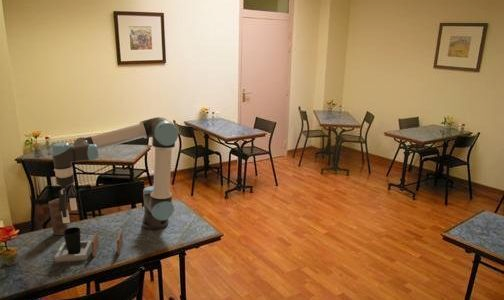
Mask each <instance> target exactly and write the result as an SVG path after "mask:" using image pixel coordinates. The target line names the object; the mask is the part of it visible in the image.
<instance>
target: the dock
mask: <svg viewBox="0 0 504 300" xmlns="http://www.w3.org/2000/svg"><path fill="white" fill-rule="evenodd" d="M91 242H92V240H80V247H81V251H80V253H79V254H70V255H69V254H68V250H67V246H66V242H65V241H63V242H62V243H61V245H60V247H59V249H58V250H57V252H56V254H55V256H54V263H55V264H57V263H68V262H69V263H70V262H71V263H72V262H81V261H82V262H83V261H87V259H88V256H89V254H90V252H91V251H92V245H91Z"/></svg>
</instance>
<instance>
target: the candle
mask: <svg viewBox="0 0 504 300" xmlns="http://www.w3.org/2000/svg"><path fill="white" fill-rule="evenodd" d="M48 208H49V215H50V221H51V227H52V232H53V234H54V235H61V236H62V235H64V234H63V232H64V231H65V230H66V229H68V228H69V227H68V223H63V219H62V213H61V211H59V198H55V199H53V200H50V201H48Z"/></svg>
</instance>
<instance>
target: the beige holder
mask: <svg viewBox="0 0 504 300" xmlns="http://www.w3.org/2000/svg"><path fill="white" fill-rule="evenodd" d="M116 238H117V239H116V245H117V246H116V248H117V255H121V253H122V249H123V246H124V241H123V231H122V230H119V232H118V236H117V237H116ZM91 245H92V247H91V251H92V253H91V254H92V257H96V255H97V252H98V249H99V247H100V241H99V234H98V232H95V233H94V235H93V237H92V242H91Z"/></svg>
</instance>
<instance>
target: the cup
mask: <svg viewBox="0 0 504 300" xmlns="http://www.w3.org/2000/svg"><path fill="white" fill-rule="evenodd" d="M62 235H63V238H64V242H66V246H67V250H68V254H69V255H70V254H79V253H80V251H81V247H80V241H81V228H80V227H77V226H75V227H74V226H73V227H68V229H66V230H65V231H64V232H63V234H62Z"/></svg>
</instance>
